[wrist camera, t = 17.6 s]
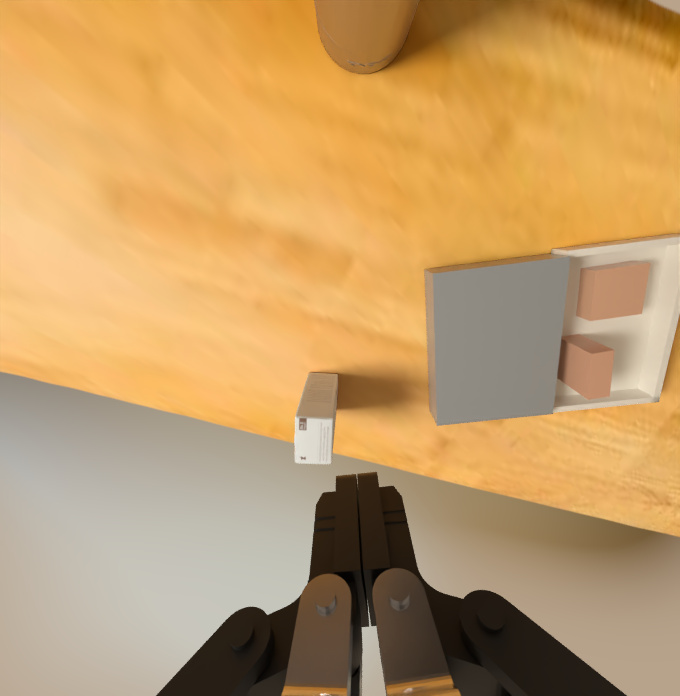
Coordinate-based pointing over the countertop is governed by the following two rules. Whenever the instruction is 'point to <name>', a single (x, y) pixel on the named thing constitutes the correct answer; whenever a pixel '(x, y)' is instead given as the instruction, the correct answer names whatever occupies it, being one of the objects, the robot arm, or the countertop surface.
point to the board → (494, 337)
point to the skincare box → (316, 419)
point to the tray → (627, 321)
